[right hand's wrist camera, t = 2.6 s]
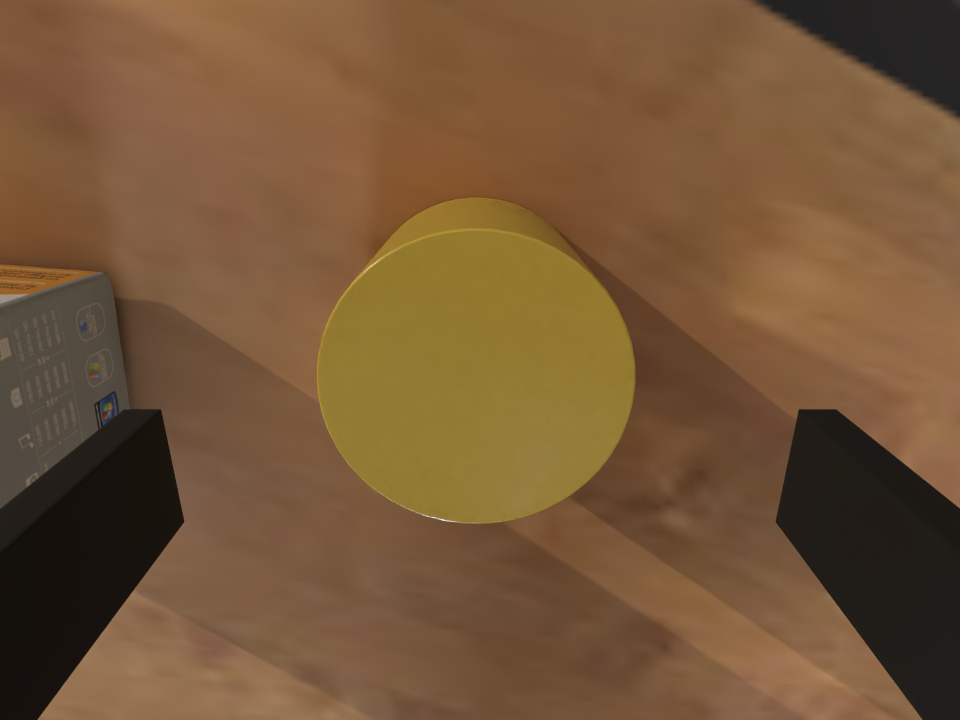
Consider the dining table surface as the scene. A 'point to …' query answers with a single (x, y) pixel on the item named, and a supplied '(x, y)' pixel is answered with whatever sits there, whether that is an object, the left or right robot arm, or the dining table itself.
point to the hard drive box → (54, 368)
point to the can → (476, 366)
